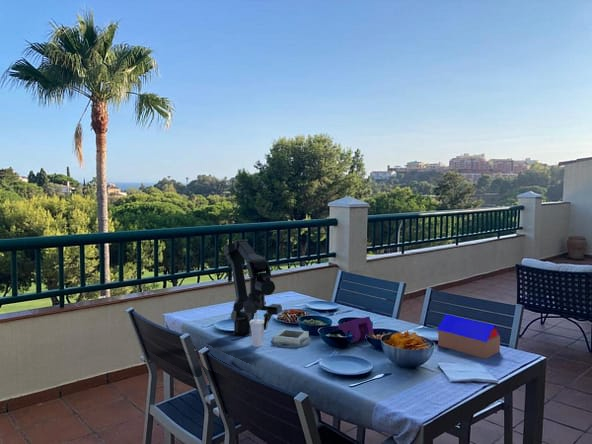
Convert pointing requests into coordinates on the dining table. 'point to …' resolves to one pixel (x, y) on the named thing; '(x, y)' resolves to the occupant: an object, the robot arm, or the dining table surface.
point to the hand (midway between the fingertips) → (257, 329)
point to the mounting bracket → (357, 328)
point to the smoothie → (257, 331)
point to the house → (469, 336)
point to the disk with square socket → (291, 338)
